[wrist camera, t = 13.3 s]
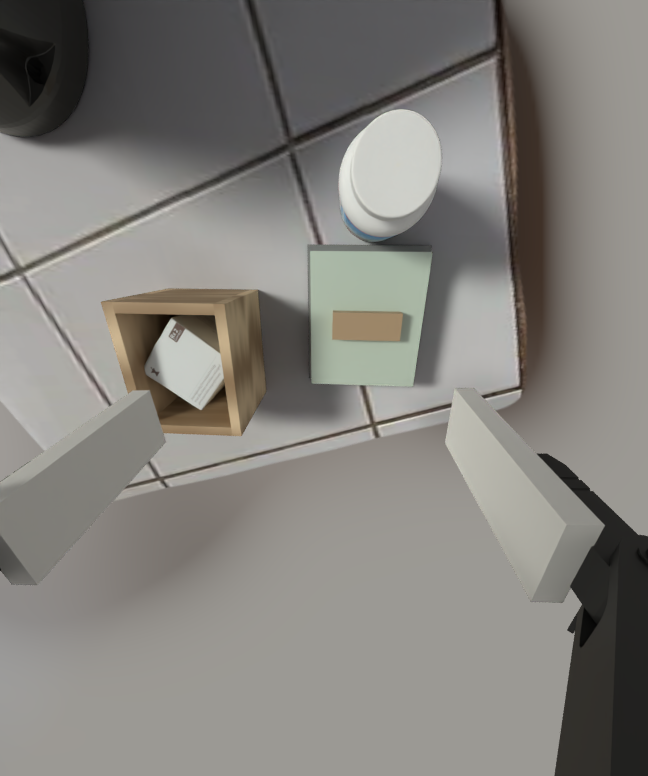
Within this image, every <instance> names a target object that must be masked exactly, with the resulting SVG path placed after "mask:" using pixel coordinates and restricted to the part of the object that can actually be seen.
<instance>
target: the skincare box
mask: <svg viewBox="0 0 648 776" xmlns="http://www.w3.org/2000/svg"><path fill="white" fill-rule="evenodd" d="M144 369H145V373H146V375H147V376H148V377H150V378H152V379H153V380H155V381H156V382H158V383H160V384H161V385H163V386H164V387H166V388H167V389H169V390H171V391H172V392H174V393H175V394H177V395H178V396H180V397H181V398H183V399H184V400H186V401H187V402H189V403H190V404H192V405H193V406H195V407H196V408H198V409H199V410H203V409H204V408H205V406H206V405H207V404H208V403H209V402H210V401H211V400H212V399H213V398H214V397H215V396H216V395H217V394H218V393H219V392H220V390H221V389H222V388H223V387H224V386H225V382H224V375H223V368H222V361H221V354H220V348H219V341H218V334H217V327H216V320H215V315H179V316H176V317H173V318H171V319H170V321H169V322H168V324H167V326H166V327H165V329H164V331H163V333H162V334H161V336H160V338H159V340H158V341H157V342H156V344H155V346H154V348H153V350H152V352H151V354H150V356H149V358H148V360H147V362H146V364H145V366H144Z"/></svg>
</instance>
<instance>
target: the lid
mask: <svg viewBox="0 0 648 776" xmlns="http://www.w3.org/2000/svg"><path fill="white" fill-rule="evenodd" d="M432 254H433V252H380V251H310V287H311V383H312V384H342V385H375V386H408V387H413V383H414V376H415V369H416V362H417V356H418V349H419V342H420V335H421V328H422V322H423V315H424V308H425V301H426V295H427V288H428V281H429V274H430V267H431V261H432Z"/></svg>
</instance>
